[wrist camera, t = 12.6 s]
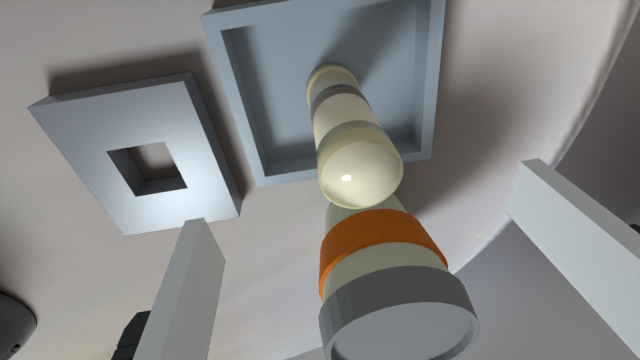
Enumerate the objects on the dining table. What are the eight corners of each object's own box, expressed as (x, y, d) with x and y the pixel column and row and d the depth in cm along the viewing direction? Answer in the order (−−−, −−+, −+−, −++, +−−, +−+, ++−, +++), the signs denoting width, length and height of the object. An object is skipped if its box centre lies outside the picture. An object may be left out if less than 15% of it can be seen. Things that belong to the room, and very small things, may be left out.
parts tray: (417, 140, 30) (431, 158, 27) (260, 166, 30) (257, 187, 27) (427, -29, 22) (448, -27, 19) (211, 9, 22) (199, 16, 19)
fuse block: (242, 201, 33) (239, 217, 31) (134, 219, 33) (124, 235, 31) (192, 71, 24) (183, 81, 22) (48, 95, 25) (26, 107, 23)
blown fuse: (357, 107, 27) (402, 201, 16) (310, 115, 27) (325, 214, 16) (353, 58, 24) (404, 131, 14) (302, 67, 24) (312, 147, 14)
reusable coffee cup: (326, 162, 31) (351, 292, 19) (435, 181, 33) (518, 306, 21) (299, 245, 38) (304, 380, 25) (391, 256, 40) (435, 382, 28)
